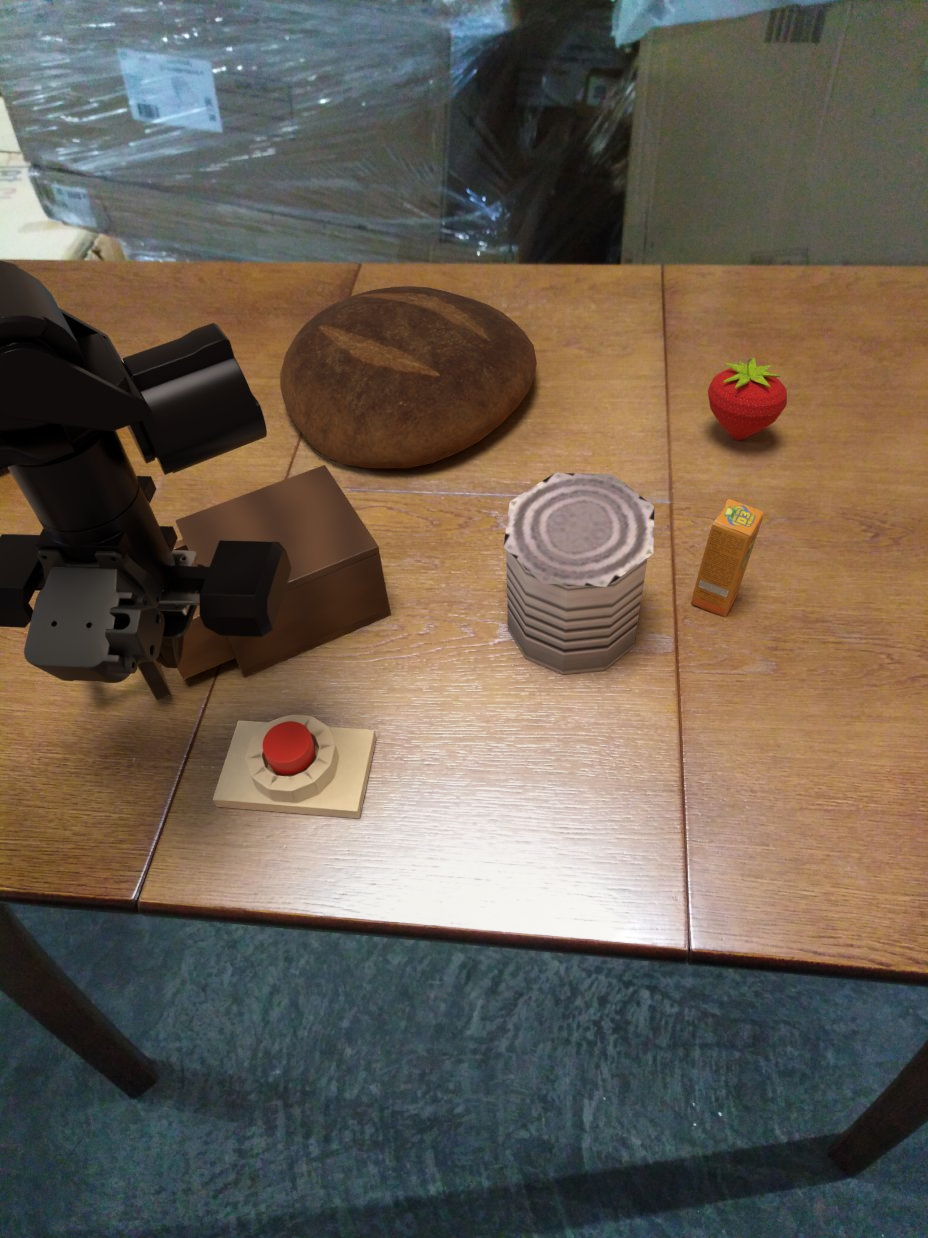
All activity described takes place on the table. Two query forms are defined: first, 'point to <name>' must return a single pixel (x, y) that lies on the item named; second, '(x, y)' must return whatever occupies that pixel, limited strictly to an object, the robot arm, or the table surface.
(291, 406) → the bread
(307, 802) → the control block
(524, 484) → the table surface
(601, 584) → the can
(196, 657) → the brown drawer
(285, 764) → the button
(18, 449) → the robot arm
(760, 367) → the strawberry
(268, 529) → the brown wooden drawer box
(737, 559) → the supplement box
